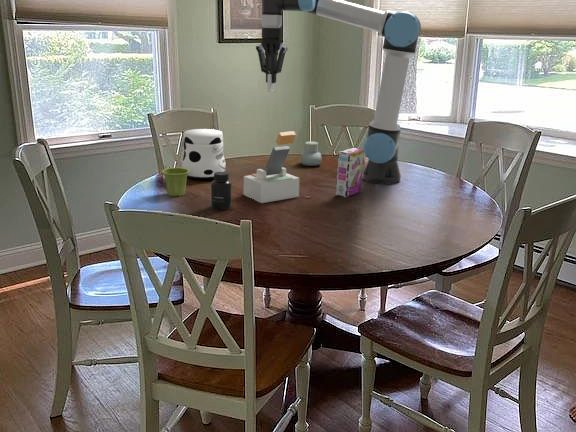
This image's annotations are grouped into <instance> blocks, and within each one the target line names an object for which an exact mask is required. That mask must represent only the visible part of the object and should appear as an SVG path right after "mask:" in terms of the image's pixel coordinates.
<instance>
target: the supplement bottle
mask: <svg viewBox="0 0 576 432" xmlns="http://www.w3.org/2000/svg"><path fill="white" fill-rule="evenodd" d="M229 178H230V177H229V173H228V172H227V171H225V172H215V173H214V178H213V179H214V180H212V181H211V182H210V207H211V209H212V208H213V210H214V209H217V210H216V211H227V210H226V209H228V210H230V209H231V208H232V182H231V181H230V180H229Z"/></svg>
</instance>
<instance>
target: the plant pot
mask: <svg viewBox="0 0 576 432" xmlns="http://www.w3.org/2000/svg"><path fill="white" fill-rule="evenodd" d="M188 173H189V170H188V169H185V168H182V167H169V168H165V169H162V174H163V177H164V180H165V186H166V190H167V195H168V196H170V197H171V196H172V197H177V196H179V197H182V196H184V195H186V187H187V179H188ZM181 195H182V196H181Z"/></svg>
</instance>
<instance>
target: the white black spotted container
mask: <svg viewBox="0 0 576 432" xmlns="http://www.w3.org/2000/svg"><path fill="white" fill-rule="evenodd" d="M182 140H183V157H182V161H181V168H185V169H188V170H189V173H188V176H187V178H191V179H197V180H209V179H210V180H211V179H214V173H215V172H226V159H225V155H224V134H223V131H222V130H218V129H213V128H212V129H211V128H193V129H188V130H184V132H183V138H182Z"/></svg>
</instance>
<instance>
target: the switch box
mask: <svg viewBox="0 0 576 432" xmlns="http://www.w3.org/2000/svg"><path fill="white" fill-rule="evenodd" d="M243 195H244V196H246V197H247V198H250V199H251V198H252V199H251V200H253V199H254V201H256V202H258V203H259V204H264V203H265V204H266V203H269V202H270V203H271V202H275V201H283V200H288V199H294V198H299V196H300V177H298V176H295V175H293V174H290V173H287V168H286V167H282V169H281V171H280V174H273V175H266V171H265V169H262V168H257V169H256V172H255V173H251V174H249V175H244V176H243Z"/></svg>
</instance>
